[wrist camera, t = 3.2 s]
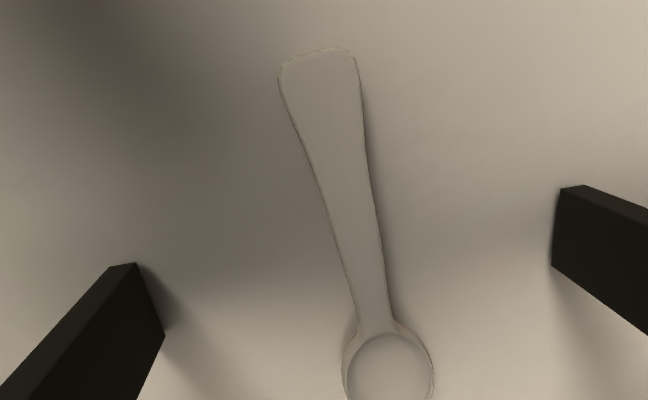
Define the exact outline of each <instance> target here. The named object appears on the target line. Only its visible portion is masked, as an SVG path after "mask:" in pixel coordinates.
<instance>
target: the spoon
mask: <svg viewBox="0 0 648 400" xmlns="http://www.w3.org/2000/svg"><path fill="white" fill-rule="evenodd" d="M277 80H278V85H279V90H280V94H281V97H282V99H283V102H284V104H285V106H286V109H287V111H288V114H289V116H290V118H291V120H292V123H293V125H294V127H295V129H296V131H297V133H298V136H299V138H300V140H301V142H302V145H303V147H304V149H305V151H306V154H307V156H308V158H309V161H310V164H311V166H312V169H313V172H314V175H315V177H316V180H317V183H318V186H319V189H320V192H321V196H322V199H323V202H324V205H325V209H326V212H327V215H328V219H329V222H330V226H331V229H332V232H333V236H334V239H335V243H336V246H337V249H338V252H339V256H340V259H341V262H342V265H343V268H344V272H345V275H346V278H347V281H348V284H349V287H350V291H351V294H352V298H353V301H354V305H355V309H356V314H357V319H358V330H357V333H356V335H355V336H354V337H353V338H352V339H351V340H350V342H349V343H348V345H347V347H346V349H345V352H344V355H343V359H342V368H341V372H342V382H343V387H344V390H345V393H346V395H347V398H348V400H430V398H431V395H432V391H433V386H434V373H433V366H432V362H431V359H430V356H429V353H428V351H427V349H426V347H425V346H424V344H423V343H422V341H421V340H420V339H419V337H418V336H417V335H416V334H415V333H414V332H412V331H411V330H410V329H408V328H407V327H405V326H403V325H401V324H399V323H398V322H396V320H395V319H394V317H393V314H392V311H391V306H390V300H389V294H388V287H387V280H386V272H385V265H384V258H383V251H382V244H381V238H380V233H379V227H378V221H377V216H376V210H375V205H374V200H373V194H372V189H371V183H370V177H369V171H368V164H367V157H366V150H365V138H364V124H363V110H362V94H361V86H360V77H359V72H358V68H357V64H356V61H355V58H354V57H353V56H352V55H351V54H350V53H349V52H348V51H346V50H342V49H339V48H330V49H323V50H319V51H315V52H311V53H308V54H304V55H300V56H298V57H295V58H293V59H291V60H289V61H288V62H287V63H285V64H284V65H283V66H282V67H281V68H280V71H279V75H278V78H277Z"/></svg>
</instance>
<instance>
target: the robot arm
mask: <svg viewBox="0 0 648 400" xmlns="http://www.w3.org/2000/svg"><path fill="white" fill-rule="evenodd" d="M551 266H553V267H554V268H555V269H557V270H558V271H560V272H561V273H562V274H564V275H565V276H566V277H568V278H569V279H571V280H572V281H573V282H575V283H576V284H577V285H579V286H580V287H582V288H583V289H584V290H586V291H587V292H588V293H590V294H591V295H593V296H594V297H595V298H597V299H598V300H599V301H601V302H602V303H603V304H605V305H606V306H608V307H609V308H610V309H612V310H613V311H614V312H616V313H617V314H619V315H620V316H621V317H623V318H624V319H625V320H627V321H628V322H630V323H631V324H632V325H634V326H635V327H636V328H638V329H639V330H641V331H642V332H643V333H645V334H646V335H647V336H648V209H647V208H645V207H642V206H639V205H637V204H634V203H631V202H629V201H626V200H624V199H621V198H618V197H616V196H613V195H610V194H608V193H605V192H602V191H600V190H597V189H594V188H592V187H589V186H586V185H580V186H575V187H569V188H563V189H561V191H560V199H559V207H558V215H557V223H556V231H555V238H554V246H553V254H552V262H551ZM164 339H165V333H164V330H163V328H162V325H161V323H160V320H159V318H158V315H157V313H156V310H155V308H154V305H153V303H152V300H151V298H150V295H149V293H148V290H147V288H146V285H145V283H144V280H143V278H142V275H141V273H140V270H139V268H138V265H137V263H136V262H134V263H128V264H123V265H117V266H111V267H109V268H108V269H107V270H106V271H105V272H104V273H103V274H102V275H101V276H100V278H99V279H98V280H97V281H96V282H95V283H94V284H93V285H92V286H91V287H90V288H89V290H88V291H87V292H86V293H85V294H84V295H83V296H82V297H81V298H80V299H79V301H78V302H77V303H76V304H75V305H74V306H73V307H72V308H71V309H70V310H69V312H68V313H67V314H66V315H65V316H64V317H63V318H62V319H61V320H60V321H59V322H58V324H57V325H56V326H55V327H54V328H53V329H52V330H51V331H50V332H49V333H48V335H47V336H46V337H45V338H44V339H43V340H42V341H41V342H40V343H39V344H38V346H37V347H36V348H35V349H34V350H33V351H32V352H31V353H30V354H29V355H28V356H27V358H26V359H25V360H24V361H23V362H22V363H21V364H20V365H19V366H18V367H17V369H16V370H15V371H14V372H13V373H12V374H11V375H10V376H9V377H8V378H7V379H6V381H5V382H4V383H3V384H2V385H1V386H0V400H137V398H138V395H139V393H140V391H141V389H142V387H143V385H144V382H145V380H146V378H147V376H148V374H149V371H150V369H151V367H152V365H153V363H154V361H155V358H156V356H157V354H158V352H159V350H160V347H161V345H162V343H163V341H164Z"/></svg>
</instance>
